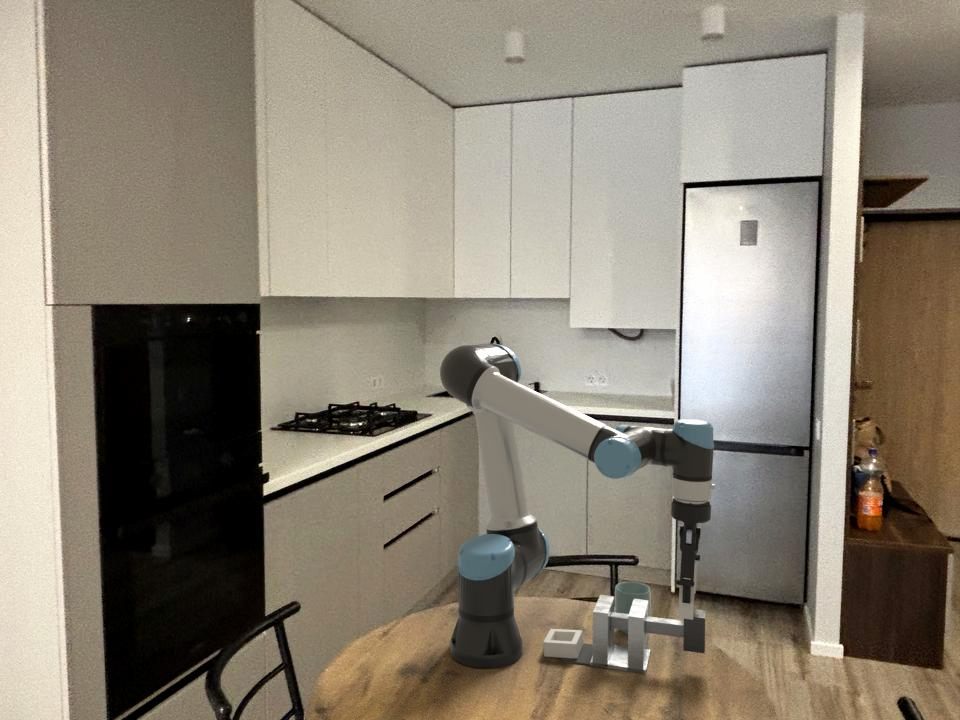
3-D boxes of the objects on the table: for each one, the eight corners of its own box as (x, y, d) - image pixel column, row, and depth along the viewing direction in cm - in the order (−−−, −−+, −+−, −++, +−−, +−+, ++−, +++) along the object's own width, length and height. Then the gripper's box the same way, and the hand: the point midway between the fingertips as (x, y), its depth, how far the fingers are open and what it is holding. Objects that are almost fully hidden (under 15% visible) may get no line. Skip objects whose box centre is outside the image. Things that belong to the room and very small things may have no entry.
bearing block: (590, 665, 147) (590, 611, 146) (597, 646, 156) (597, 594, 155) (645, 674, 143) (646, 618, 143) (650, 653, 152) (650, 600, 152)
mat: (560, 661, 149) (560, 659, 149) (569, 642, 157) (569, 641, 157) (590, 665, 147) (590, 664, 147) (597, 646, 156) (597, 645, 156)
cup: (650, 640, 158) (651, 595, 158) (614, 637, 160) (614, 592, 159) (649, 625, 166) (650, 582, 165) (615, 623, 168) (615, 580, 167)
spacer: (577, 658, 149) (544, 656, 151) (583, 644, 155) (551, 642, 158) (576, 644, 149) (543, 642, 151) (582, 630, 155) (550, 628, 158)
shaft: (596, 639, 149) (597, 605, 148) (599, 631, 153) (600, 598, 152) (704, 653, 142) (705, 618, 142) (705, 644, 146) (705, 610, 146)
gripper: (710, 517, 130) (705, 633, 132) (712, 486, 154) (708, 584, 156) (667, 513, 133) (663, 627, 134) (675, 483, 156) (671, 580, 158)
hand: (687, 604), depth 145 cm, fingers open, 13 cm apart
